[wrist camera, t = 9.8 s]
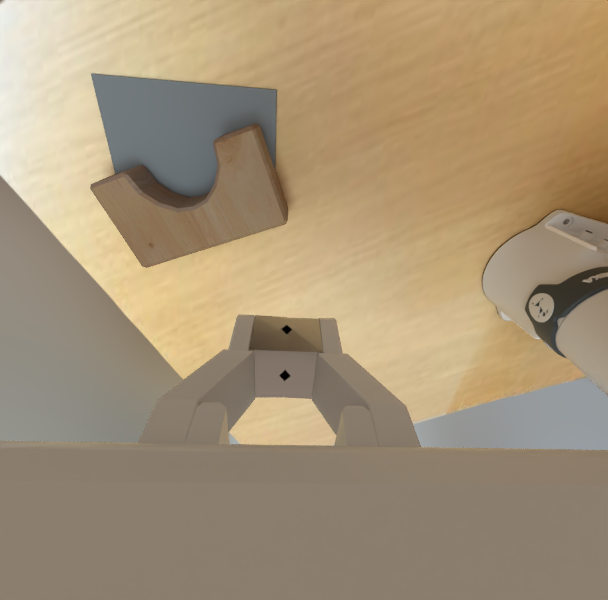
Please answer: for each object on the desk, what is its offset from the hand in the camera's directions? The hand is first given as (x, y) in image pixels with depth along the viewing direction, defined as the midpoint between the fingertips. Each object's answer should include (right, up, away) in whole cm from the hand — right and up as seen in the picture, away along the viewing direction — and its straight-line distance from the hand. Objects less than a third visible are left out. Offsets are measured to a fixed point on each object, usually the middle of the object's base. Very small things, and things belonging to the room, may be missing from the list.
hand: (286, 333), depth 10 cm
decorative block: (-3, +16, +27) cm, 32 cm away
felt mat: (-13, +19, +28) cm, 37 cm away
